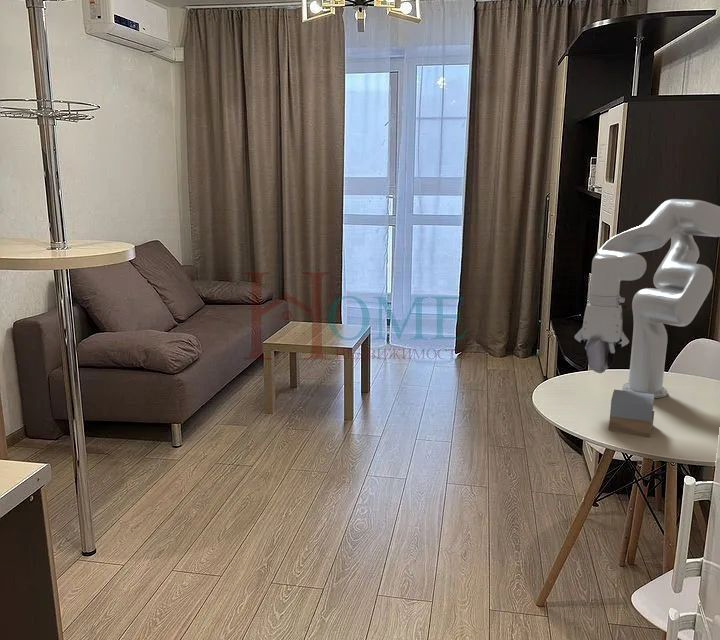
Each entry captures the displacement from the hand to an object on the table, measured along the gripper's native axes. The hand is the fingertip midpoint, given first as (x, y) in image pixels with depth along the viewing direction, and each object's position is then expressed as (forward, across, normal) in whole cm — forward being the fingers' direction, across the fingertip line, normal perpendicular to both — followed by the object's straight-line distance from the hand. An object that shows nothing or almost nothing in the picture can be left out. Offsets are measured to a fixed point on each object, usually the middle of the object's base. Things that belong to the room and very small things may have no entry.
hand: (599, 363), depth 195 cm
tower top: (+9, -10, +11) cm, 17 cm away
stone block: (+3, 0, 0) cm, 3 cm away
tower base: (+14, -10, +11) cm, 20 cm away
